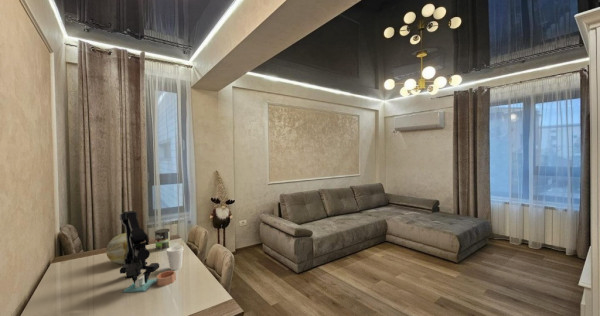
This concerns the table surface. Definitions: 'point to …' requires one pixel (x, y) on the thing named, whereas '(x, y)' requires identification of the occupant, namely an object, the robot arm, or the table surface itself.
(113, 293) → the table surface
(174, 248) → the foam cup
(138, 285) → the cover plate
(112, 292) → the table surface
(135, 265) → the robot arm
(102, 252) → the table surface
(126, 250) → the decorative sphere
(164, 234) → the coffee can
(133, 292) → the mat
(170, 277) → the bowl
